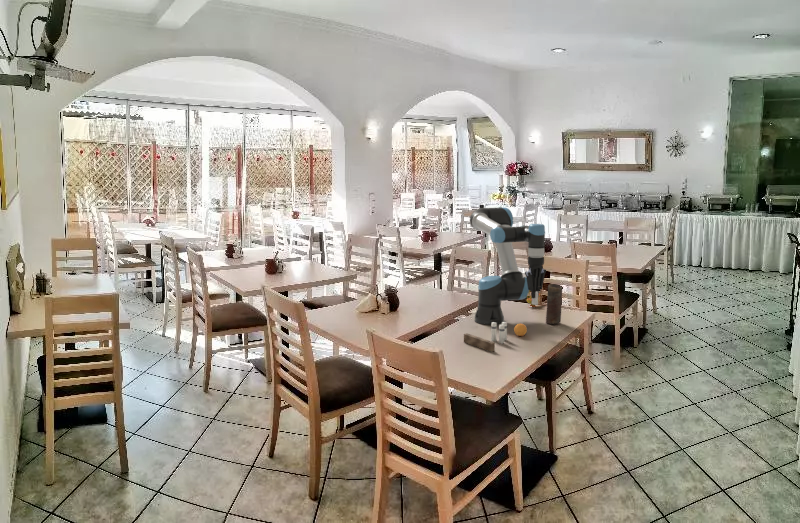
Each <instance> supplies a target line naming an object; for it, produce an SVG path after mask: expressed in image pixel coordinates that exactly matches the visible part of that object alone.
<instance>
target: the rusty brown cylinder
mask: <svg viewBox="0 0 800 523" xmlns="http://www.w3.org/2000/svg"><path fill="white" fill-rule="evenodd" d="M562 302H563V286H562V285H560V284H556V283H553V284H551V283H550V284H548V286H547V299H546V312H545V313H546V314H545V323H546V324H548V325H549V324H550V325H558V324H560V323H561V319H562Z"/></svg>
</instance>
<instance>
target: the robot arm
mask: <svg viewBox="0 0 800 523" xmlns="http://www.w3.org/2000/svg"><path fill="white" fill-rule="evenodd" d="M469 223H470V226H471V227H472V228H473V229H474V230H477V231H482V232H483V233H485V234H486V235H488V236H489V238H490V240H491V242H492V243H493V244H495V246H496V251H497V255H498V260H499V264H500V268H501V273H502V274H501V275H488V276H483V277H481V278H480V279H479V280H478V287H477V289H478V292H477V294H478V298H477V300H478V302H477V303H478V304H477V309H476V312H475V314H474V321H475V322H476V323H478V324H482V325H490V326H491V324H492V322H496V323H497V325H501V324H502V322H505V317H504V313H503V310H502V301H503V302H505V301H519V300H525V299H527V296H529V294H528V292H529V290H530V296H531V298H532V304H533V305H535V306H538V305H539V302H538V297H539V292H541V291H542V289H543V285H544V282H545V281H544V280H545V276H546V272H547V269H545V268H544V266H543V265H544V264H545V258H544V256H545V239H546V228H545V225H544V224H543V223H530V224H529V225H520V226H513V224H514V216H513V213H512V211H511V210H510V209H509V208H507V207H501V206H499V207H481V208H477V209H476V210H474V211H473V212H472V213H471V215H470V216H469ZM513 243H527V244H528V248H527V250H528V251H527V252H528V253H527V255H528V257H527V264H528V265H529V266H528V270H527V271H525V272H524V275H525V276H524V275H523V272H522V271H520V270H519V266H518V263H517V258H516V255H515V251H514V247H513ZM539 298H540V297H539Z"/></svg>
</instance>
